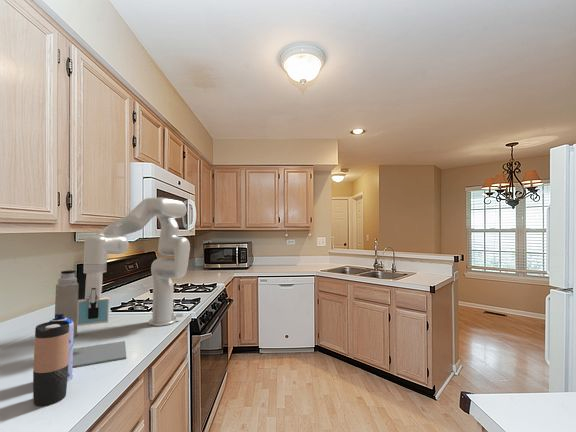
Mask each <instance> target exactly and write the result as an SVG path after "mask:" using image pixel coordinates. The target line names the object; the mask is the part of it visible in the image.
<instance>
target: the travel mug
mask: <svg viewBox="0 0 576 432" xmlns="http://www.w3.org/2000/svg"><path fill="white" fill-rule="evenodd" d="M33 348H34V350H33V367H32V368H33V369H32V370H33V371H32V373H33V374H32V377H33V379H32V386H33V387H32V390H33V391H32V393H33V394H32V397H33V398H32V399H33V401H32V402H33V403H32V404H33V405H34V406H36V407H45V406H46V407H47V406H50V405H54V404H57V403H59V402H60V401H61V402H62V400H64V399H65V398H66V396H67V388H68V387H67V386H68V382H67V376H68V358H69V322H68V321H52V322H49V321H47V322H43V323H40V324H37V325H36V326H35V331H34V347H33Z"/></svg>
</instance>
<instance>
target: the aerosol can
mask: <svg viewBox="0 0 576 432" xmlns="http://www.w3.org/2000/svg"><path fill="white" fill-rule="evenodd" d="M52 321H68V322H69V358H68V376H67V383H68V382H71V381H72V380H73V377H74V375H73V368H72V365H73V349H74V337H73V336H74V324H73V321H71V320H70V319H69V318H66V317H64V314H55V313H54V318H52V319H51V320H49V321H48V322H52Z"/></svg>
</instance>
